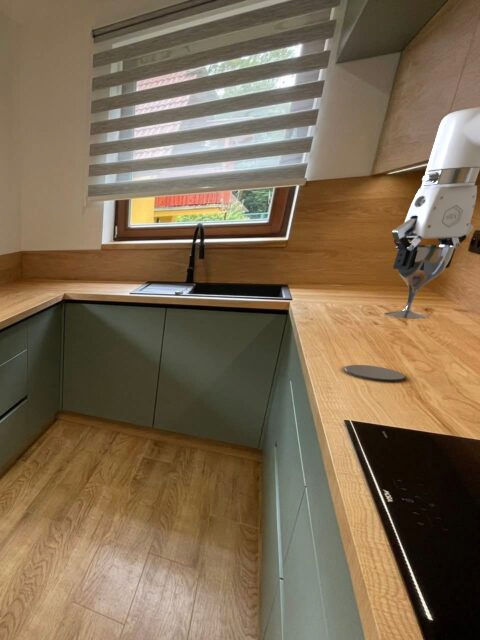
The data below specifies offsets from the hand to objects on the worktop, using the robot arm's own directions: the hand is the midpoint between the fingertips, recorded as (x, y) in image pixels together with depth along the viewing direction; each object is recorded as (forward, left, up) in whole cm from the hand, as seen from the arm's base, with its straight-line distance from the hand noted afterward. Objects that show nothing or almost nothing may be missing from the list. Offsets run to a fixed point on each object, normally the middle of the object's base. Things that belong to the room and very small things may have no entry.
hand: (420, 267), depth 93 cm
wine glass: (0, 0, -11) cm, 11 cm away
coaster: (+5, +1, -24) cm, 24 cm away
